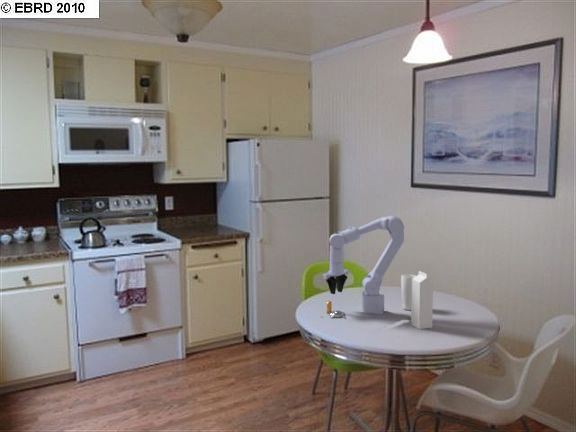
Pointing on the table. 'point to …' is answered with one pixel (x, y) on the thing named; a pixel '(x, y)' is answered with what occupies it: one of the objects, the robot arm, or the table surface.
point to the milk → (422, 301)
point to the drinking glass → (406, 291)
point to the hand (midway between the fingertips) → (336, 292)
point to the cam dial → (334, 313)
